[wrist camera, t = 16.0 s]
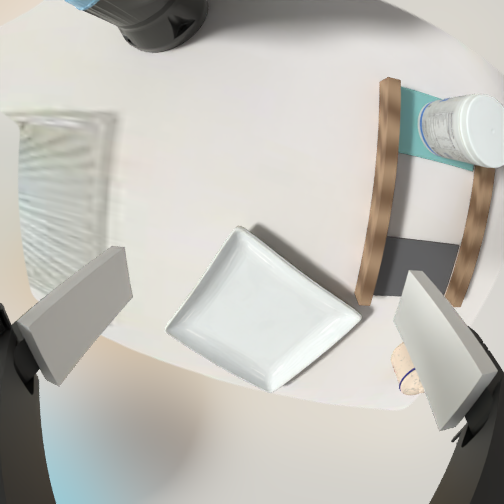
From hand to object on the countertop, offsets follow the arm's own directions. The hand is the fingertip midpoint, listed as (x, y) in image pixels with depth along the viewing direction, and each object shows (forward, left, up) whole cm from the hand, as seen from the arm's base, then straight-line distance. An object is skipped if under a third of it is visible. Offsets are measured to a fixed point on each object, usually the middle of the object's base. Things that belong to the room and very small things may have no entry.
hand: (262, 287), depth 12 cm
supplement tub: (-12, +26, -31) cm, 43 cm away
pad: (-12, +26, -32) cm, 43 cm away
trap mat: (+13, +26, -32) cm, 43 cm away
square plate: (+25, -2, -32) cm, 41 cm away
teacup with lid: (+33, +33, -32) cm, 57 cm away
